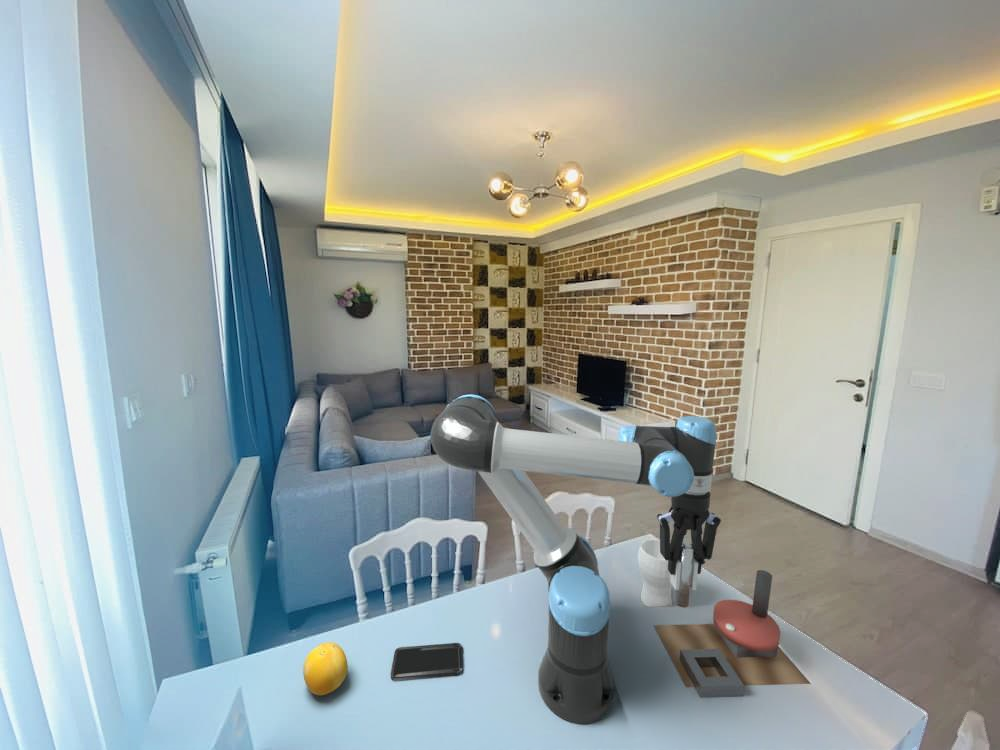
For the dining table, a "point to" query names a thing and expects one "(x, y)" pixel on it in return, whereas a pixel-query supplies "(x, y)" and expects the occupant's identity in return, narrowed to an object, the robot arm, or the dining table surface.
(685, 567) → the hook peg
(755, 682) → the board
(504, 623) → the dining table surface
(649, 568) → the cup
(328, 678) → the fruit
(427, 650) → the phone
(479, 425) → the robot arm
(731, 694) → the eye
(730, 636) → the handwheel
